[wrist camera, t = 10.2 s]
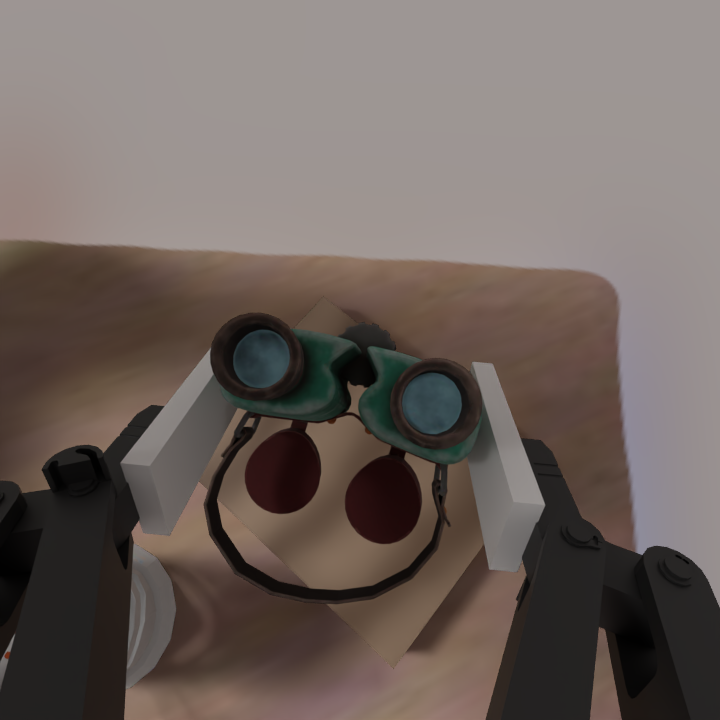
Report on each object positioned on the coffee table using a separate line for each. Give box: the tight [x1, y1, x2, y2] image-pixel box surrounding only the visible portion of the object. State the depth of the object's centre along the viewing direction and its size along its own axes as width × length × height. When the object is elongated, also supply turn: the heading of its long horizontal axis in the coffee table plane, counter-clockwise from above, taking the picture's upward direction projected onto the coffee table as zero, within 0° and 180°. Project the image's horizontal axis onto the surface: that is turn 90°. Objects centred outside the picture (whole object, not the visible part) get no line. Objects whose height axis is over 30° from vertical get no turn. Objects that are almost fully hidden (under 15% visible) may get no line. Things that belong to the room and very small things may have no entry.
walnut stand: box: [199, 296, 484, 669], centre depth 31 cm, size 20×16×2 cm
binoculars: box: [204, 313, 483, 604], centre depth 15 cm, size 9×11×10 cm
